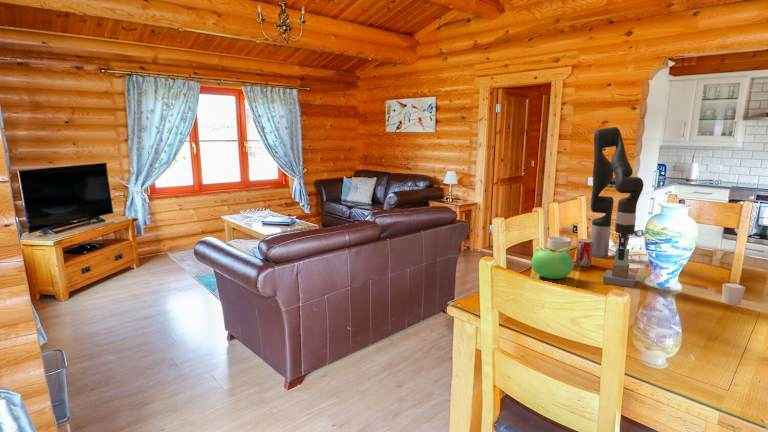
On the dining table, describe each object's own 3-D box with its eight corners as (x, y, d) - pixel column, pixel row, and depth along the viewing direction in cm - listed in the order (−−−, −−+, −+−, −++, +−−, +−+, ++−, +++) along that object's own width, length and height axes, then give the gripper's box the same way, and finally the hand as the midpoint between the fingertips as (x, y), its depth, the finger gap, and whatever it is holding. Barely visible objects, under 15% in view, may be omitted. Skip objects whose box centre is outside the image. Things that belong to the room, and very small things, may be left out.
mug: (538, 259, 225) (539, 235, 223) (557, 258, 227) (558, 234, 225) (553, 267, 211) (555, 241, 208) (573, 266, 212) (575, 241, 210)
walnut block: (613, 272, 192) (614, 261, 191) (628, 274, 189) (629, 264, 188) (611, 275, 187) (612, 265, 186) (627, 278, 184) (628, 267, 183)
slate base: (606, 275, 197) (606, 269, 196) (635, 280, 190) (636, 274, 190) (602, 282, 187) (603, 276, 187) (633, 287, 180) (634, 281, 180)
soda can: (587, 263, 217) (589, 238, 215) (593, 267, 210) (595, 242, 208) (573, 262, 218) (575, 238, 216) (578, 266, 211) (580, 241, 209)
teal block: (615, 262, 191) (616, 247, 190) (627, 264, 188) (629, 248, 187) (614, 264, 187) (615, 249, 185) (627, 266, 184) (628, 251, 183)
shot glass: (738, 300, 166) (740, 283, 165) (746, 306, 160) (749, 289, 158) (717, 298, 168) (719, 281, 167) (724, 304, 162) (727, 287, 161)
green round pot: (528, 279, 191) (530, 248, 189) (533, 269, 206) (535, 241, 203) (571, 285, 183) (573, 253, 181) (573, 275, 198) (575, 245, 195)
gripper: (617, 219, 192) (614, 253, 195) (614, 224, 180) (610, 260, 183) (636, 220, 188) (632, 255, 190) (634, 225, 176) (630, 263, 179)
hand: (621, 257), depth 187 cm, fingers open, 8 cm apart
